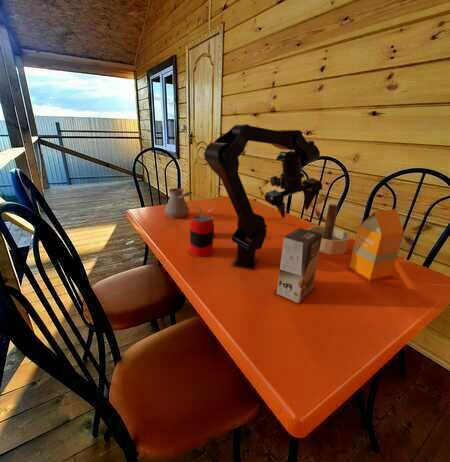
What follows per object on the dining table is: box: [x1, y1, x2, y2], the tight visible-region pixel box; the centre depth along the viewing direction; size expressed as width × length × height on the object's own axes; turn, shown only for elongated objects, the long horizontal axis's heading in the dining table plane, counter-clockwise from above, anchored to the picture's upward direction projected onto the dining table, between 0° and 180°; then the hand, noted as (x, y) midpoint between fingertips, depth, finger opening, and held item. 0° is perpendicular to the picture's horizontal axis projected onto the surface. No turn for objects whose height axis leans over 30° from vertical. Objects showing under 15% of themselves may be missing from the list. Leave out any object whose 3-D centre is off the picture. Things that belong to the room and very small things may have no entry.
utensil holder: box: [197, 204, 215, 236], centre depth 99 cm, size 6×6×12 cm
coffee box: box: [276, 227, 322, 304], centre depth 64 cm, size 9×6×16 cm
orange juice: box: [349, 208, 405, 283], centre depth 74 cm, size 8×9×20 cm
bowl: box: [307, 225, 351, 256], centre depth 92 cm, size 14×14×6 cm
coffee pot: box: [164, 187, 195, 219], centre depth 116 cm, size 21×12×15 cm, turn 34°
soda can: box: [189, 215, 214, 257], centre depth 85 cm, size 8×8×12 cm
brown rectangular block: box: [323, 203, 339, 240], centre depth 91 cm, size 5×5×16 cm
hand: (294, 213), depth 88 cm, fingers open, 9 cm apart
